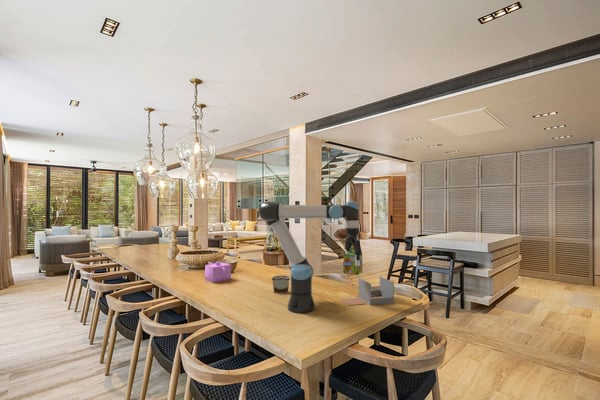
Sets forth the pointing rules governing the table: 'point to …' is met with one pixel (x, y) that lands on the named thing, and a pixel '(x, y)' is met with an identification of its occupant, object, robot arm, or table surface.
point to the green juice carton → (351, 263)
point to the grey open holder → (377, 292)
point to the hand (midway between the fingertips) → (353, 263)
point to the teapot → (217, 272)
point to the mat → (353, 301)
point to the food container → (280, 284)
